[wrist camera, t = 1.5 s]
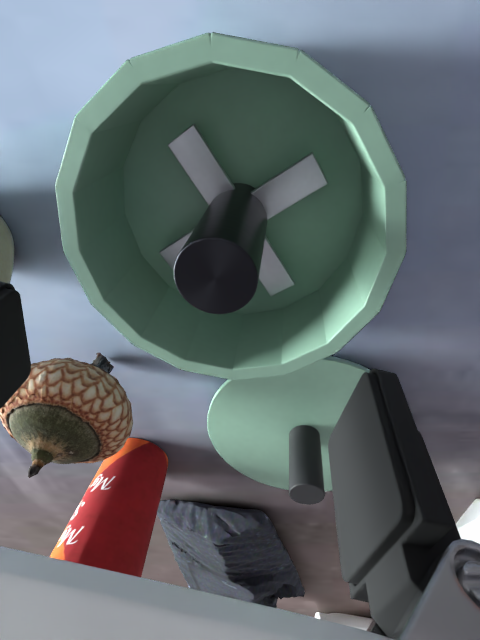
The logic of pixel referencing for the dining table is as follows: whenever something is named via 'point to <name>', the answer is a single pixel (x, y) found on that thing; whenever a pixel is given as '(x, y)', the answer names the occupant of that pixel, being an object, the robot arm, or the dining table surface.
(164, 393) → the dining table surface
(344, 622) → the mug
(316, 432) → the lid
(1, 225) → the flower pot
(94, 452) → the acorn
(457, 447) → the dining table surface
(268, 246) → the blade
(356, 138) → the bowl
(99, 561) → the paper cup
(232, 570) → the dark slate chunk
